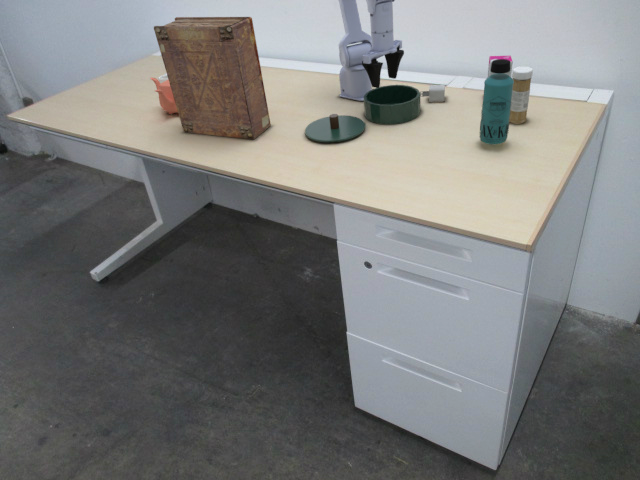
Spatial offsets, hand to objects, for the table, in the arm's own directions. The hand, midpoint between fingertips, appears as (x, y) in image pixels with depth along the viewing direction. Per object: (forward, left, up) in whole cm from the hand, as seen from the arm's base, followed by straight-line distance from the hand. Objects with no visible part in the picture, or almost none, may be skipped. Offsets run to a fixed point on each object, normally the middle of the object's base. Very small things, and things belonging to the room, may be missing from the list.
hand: (384, 82), depth 140 cm
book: (-36, -29, -10) cm, 47 cm away
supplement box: (+22, +23, -10) cm, 33 cm away
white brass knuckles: (-88, -7, -10) cm, 89 cm away
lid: (-6, -15, -9) cm, 18 cm away
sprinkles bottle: (+33, +12, -10) cm, 36 cm away
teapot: (-62, -27, -10) cm, 68 cm away
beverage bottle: (+34, -3, -10) cm, 35 cm away
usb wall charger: (+6, +15, -10) cm, 19 cm away
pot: (+1, +2, -9) cm, 10 cm away
